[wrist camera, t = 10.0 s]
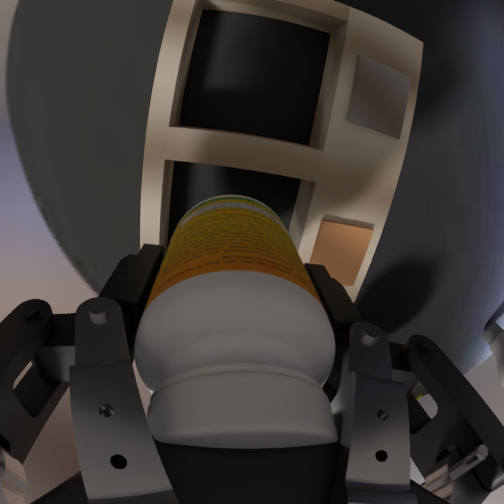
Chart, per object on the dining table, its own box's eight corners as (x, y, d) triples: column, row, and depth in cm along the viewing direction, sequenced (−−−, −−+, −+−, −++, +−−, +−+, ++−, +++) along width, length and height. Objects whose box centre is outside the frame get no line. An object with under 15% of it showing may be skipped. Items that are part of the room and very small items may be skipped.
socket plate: (188, -6, 9) (181, -27, 7) (399, 48, 11) (426, 41, 9) (151, 278, 17) (140, 304, 14) (334, 297, 19) (347, 322, 16)
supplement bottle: (157, 208, 12) (47, 404, 3) (278, 180, 12) (403, 361, 3) (192, 304, 14) (174, 492, 6) (294, 283, 14) (357, 468, 5)
